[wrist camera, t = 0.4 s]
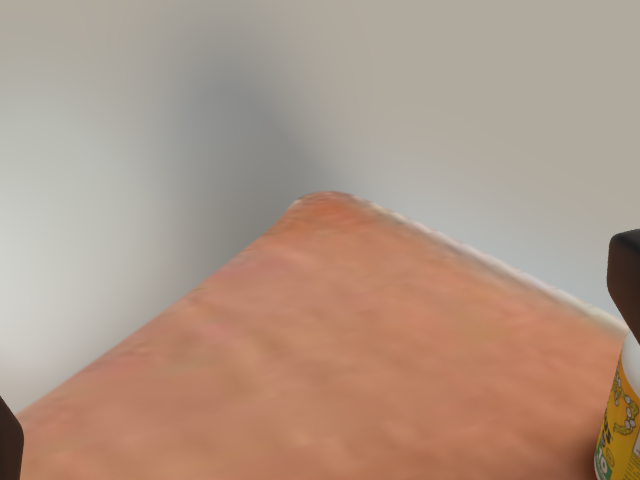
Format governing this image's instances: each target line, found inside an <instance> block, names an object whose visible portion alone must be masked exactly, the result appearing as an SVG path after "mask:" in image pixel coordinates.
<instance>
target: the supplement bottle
mask: <svg viewBox="0 0 640 480" xmlns="http://www.w3.org/2000/svg"><path fill="white" fill-rule="evenodd" d="M594 465H595V472H596V476H597V480H640V345H639V344H638V342H637V340H636V338H635V337H634V335H633V333H632V332H631V330H629V332H628V334H627V335H626V338H625V341H624V343H623V346H622V350H621V354H620V357H619V361H618V365H617V369H616V373H615V377H614V381H613V385H612V389H611V393H610V396H609V400H608V403H607V408H606V411H605V415H604V418H603V422H602V426H601V430H600V434H599V437H598V440H597V445H596V450H595V456H594Z"/></svg>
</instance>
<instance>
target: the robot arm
mask: <svg viewBox="0 0 640 480" xmlns="http://www.w3.org/2000/svg"><path fill="white" fill-rule="evenodd" d="M607 287H608V291H609V293H610V296H611V298H612V299H613V301H614V303H615V304H616V306H617V308H618V310H619V311H620V313H621V315H622V316H623V318H624V320H625V321H626V323H627V325H628V327H629V328H630V330H631V332H632V333H633V335H634V337H635V338H636V340H637V342H638V344H639V345H640V229H635V230H631V231H627V232H623V233H619V234H616V235H614V236H613V237H612V238H611V240H610V244H609V255H608V269H607ZM23 445H24V434H23V430H22V427H21V425H20V423H19V422H18V420H17V419H16V417H15V416H14V415H13V413H12V412H11V410H10V409H9V407H8V406H7V405H6V403H5V402H4V400H3V399H2V398H1V396H0V480H20V472H21V463H22V454H23Z"/></svg>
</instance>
